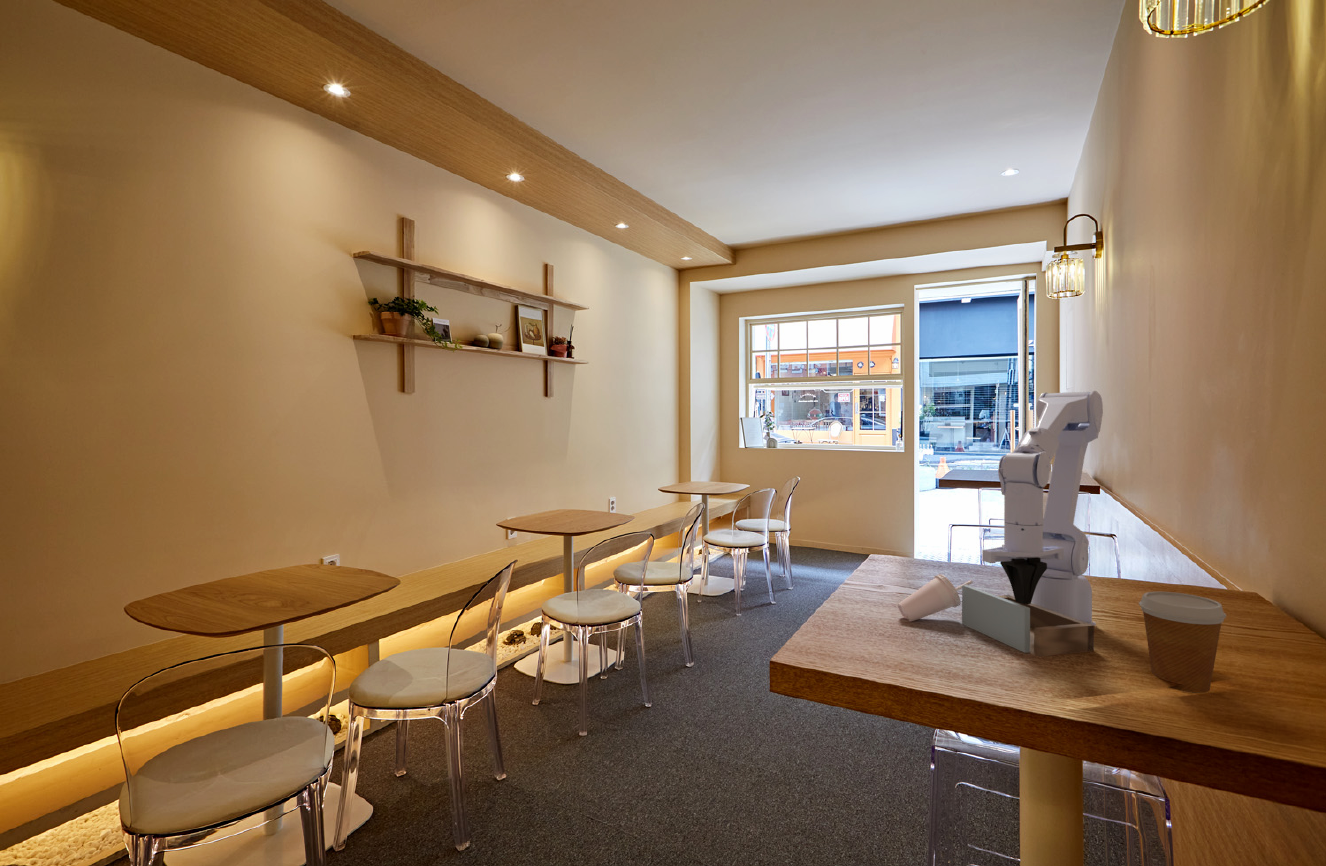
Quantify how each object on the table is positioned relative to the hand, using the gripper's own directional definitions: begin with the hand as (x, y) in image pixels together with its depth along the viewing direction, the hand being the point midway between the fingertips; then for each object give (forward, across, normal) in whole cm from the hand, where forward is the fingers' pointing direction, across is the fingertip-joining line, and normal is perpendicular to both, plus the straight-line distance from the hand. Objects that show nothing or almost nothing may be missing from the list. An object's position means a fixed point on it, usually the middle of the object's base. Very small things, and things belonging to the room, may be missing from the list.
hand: (1023, 602), depth 106 cm
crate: (+6, 0, 0) cm, 7 cm away
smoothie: (+4, +15, -12) cm, 20 cm away
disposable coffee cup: (+7, -8, +20) cm, 23 cm away
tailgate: (+6, +5, 0) cm, 8 cm away
